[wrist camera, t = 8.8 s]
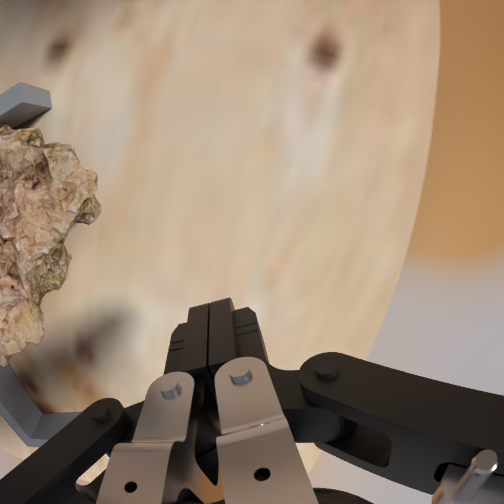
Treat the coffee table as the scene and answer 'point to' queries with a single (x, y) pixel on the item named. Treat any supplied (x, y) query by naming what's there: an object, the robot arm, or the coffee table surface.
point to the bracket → (3, 378)
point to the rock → (36, 228)
